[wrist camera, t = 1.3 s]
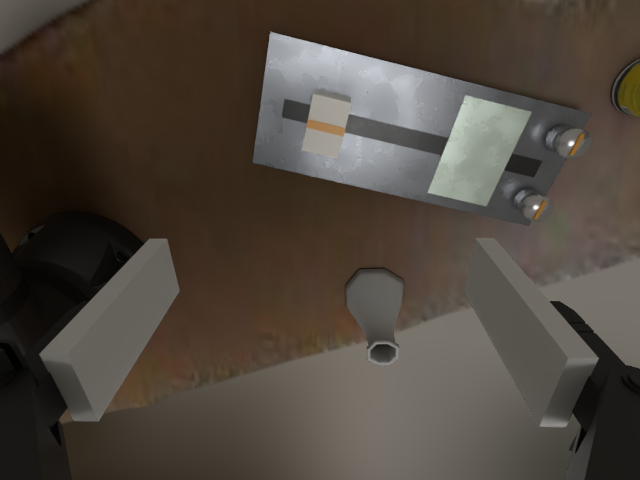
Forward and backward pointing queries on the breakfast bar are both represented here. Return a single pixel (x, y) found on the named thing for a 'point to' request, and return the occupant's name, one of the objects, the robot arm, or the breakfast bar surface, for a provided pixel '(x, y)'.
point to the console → (418, 132)
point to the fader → (326, 123)
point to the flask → (376, 311)
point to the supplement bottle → (628, 90)
